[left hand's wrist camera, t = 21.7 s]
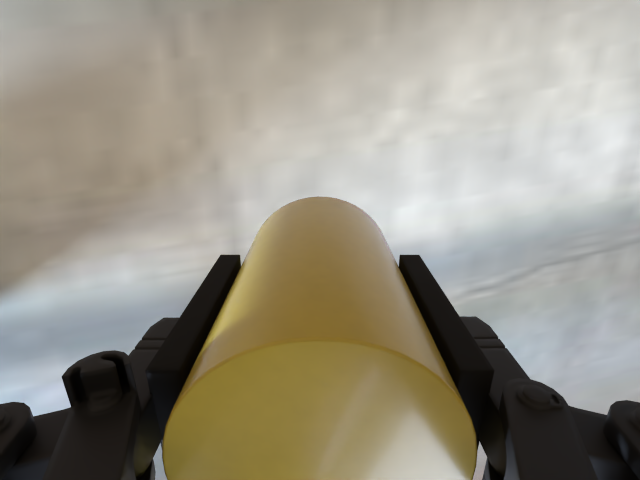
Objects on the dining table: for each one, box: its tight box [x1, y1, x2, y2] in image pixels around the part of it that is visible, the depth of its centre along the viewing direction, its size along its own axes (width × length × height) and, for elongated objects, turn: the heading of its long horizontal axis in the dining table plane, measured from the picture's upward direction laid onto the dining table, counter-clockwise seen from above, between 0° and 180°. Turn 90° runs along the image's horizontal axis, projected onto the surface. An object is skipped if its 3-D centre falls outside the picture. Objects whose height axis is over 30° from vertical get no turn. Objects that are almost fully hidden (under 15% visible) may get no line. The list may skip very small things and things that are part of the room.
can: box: [162, 197, 477, 480], centre depth 12 cm, size 6×6×10 cm
